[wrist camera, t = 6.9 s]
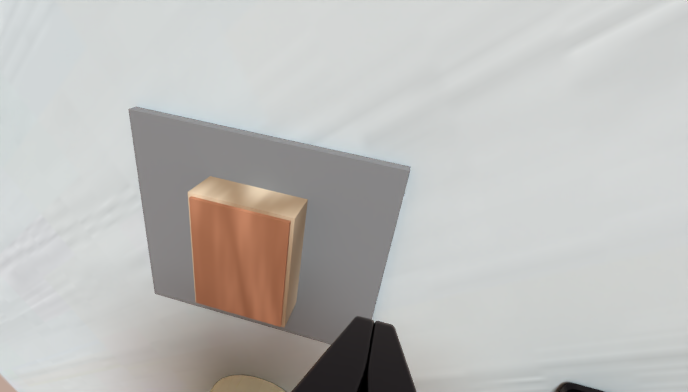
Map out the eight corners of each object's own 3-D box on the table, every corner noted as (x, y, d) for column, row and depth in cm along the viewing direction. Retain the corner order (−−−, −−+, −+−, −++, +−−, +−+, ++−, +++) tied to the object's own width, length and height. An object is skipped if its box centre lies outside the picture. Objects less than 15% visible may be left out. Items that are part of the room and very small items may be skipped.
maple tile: (293, 220, 18) (185, 193, 18) (283, 330, 22) (193, 304, 22) (307, 199, 20) (210, 176, 21) (296, 302, 24) (214, 279, 24)
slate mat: (410, 166, 18) (410, 171, 18) (364, 346, 25) (362, 353, 24) (136, 106, 20) (128, 109, 20) (160, 288, 27) (154, 293, 26)
